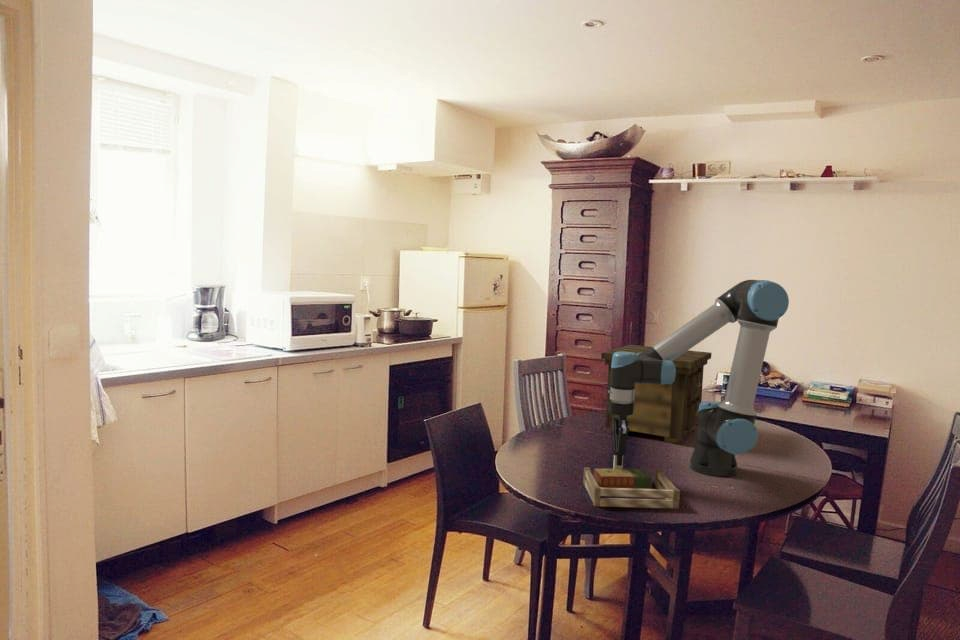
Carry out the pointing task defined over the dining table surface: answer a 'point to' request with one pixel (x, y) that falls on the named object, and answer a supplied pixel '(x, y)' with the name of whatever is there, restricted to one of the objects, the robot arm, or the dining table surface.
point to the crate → (664, 397)
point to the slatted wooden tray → (634, 493)
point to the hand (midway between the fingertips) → (617, 474)
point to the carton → (623, 478)
